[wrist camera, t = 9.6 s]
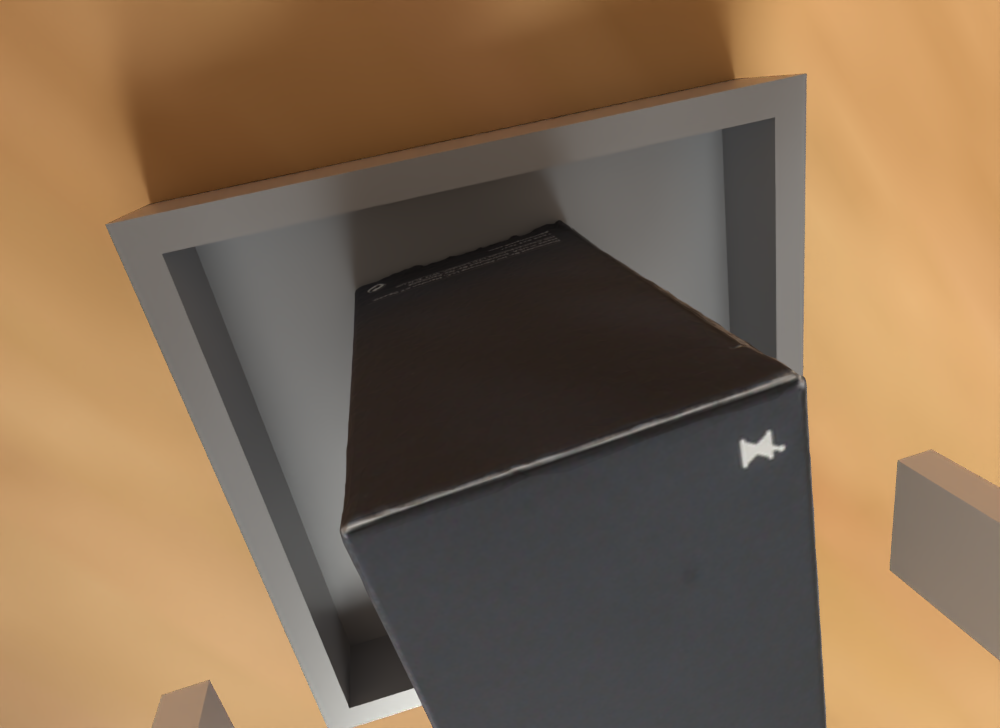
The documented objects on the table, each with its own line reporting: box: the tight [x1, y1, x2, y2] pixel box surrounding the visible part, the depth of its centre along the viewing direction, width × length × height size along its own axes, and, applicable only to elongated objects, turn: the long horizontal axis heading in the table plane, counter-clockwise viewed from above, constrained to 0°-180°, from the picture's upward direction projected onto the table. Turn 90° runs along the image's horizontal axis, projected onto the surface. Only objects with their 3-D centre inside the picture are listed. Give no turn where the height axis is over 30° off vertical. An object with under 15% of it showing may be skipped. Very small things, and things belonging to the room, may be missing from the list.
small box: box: [340, 220, 826, 728], centre depth 14 cm, size 11×6×10 cm, turn 16°
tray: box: [106, 74, 807, 728], centre depth 18 cm, size 16×16×3 cm
